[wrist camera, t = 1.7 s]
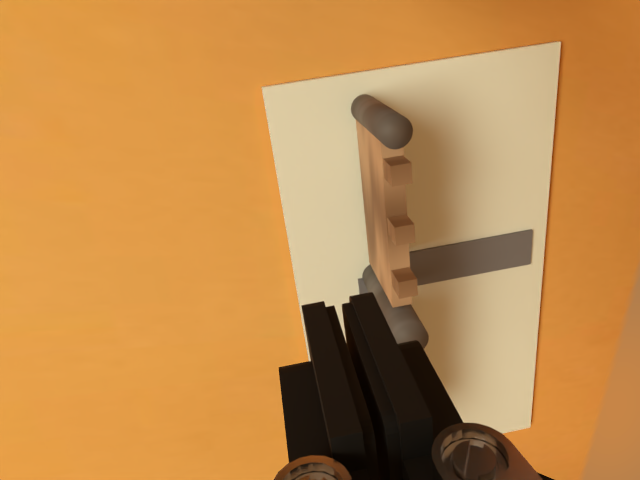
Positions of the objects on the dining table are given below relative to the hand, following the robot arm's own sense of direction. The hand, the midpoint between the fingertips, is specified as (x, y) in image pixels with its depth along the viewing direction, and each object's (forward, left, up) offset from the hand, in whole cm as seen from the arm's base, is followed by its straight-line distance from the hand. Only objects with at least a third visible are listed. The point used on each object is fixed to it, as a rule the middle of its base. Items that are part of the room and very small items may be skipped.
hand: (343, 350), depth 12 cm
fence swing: (0, -5, -16) cm, 17 cm away
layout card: (-5, -11, -17) cm, 21 cm away
